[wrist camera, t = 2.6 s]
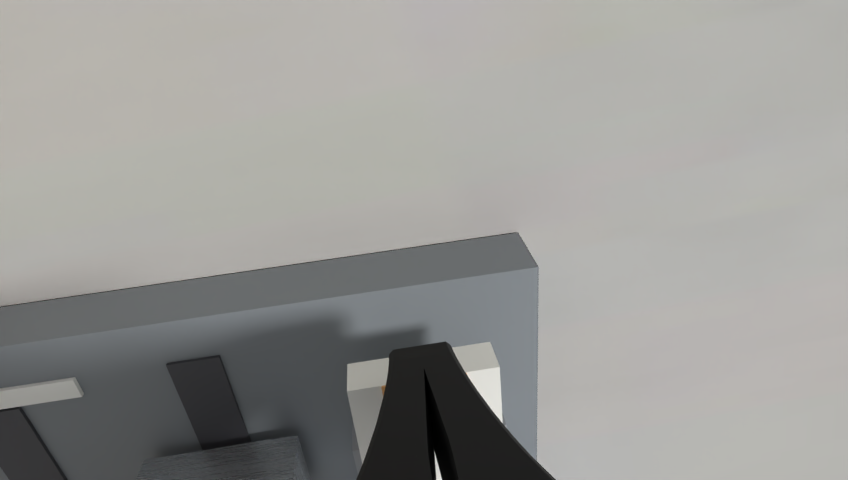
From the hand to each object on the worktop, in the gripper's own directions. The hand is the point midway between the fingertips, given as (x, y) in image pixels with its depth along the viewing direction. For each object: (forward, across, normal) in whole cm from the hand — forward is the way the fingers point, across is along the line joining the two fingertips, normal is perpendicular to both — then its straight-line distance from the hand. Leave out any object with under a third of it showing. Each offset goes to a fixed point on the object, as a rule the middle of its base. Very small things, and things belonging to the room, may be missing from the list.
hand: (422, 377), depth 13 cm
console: (+4, +6, +6) cm, 10 cm away
